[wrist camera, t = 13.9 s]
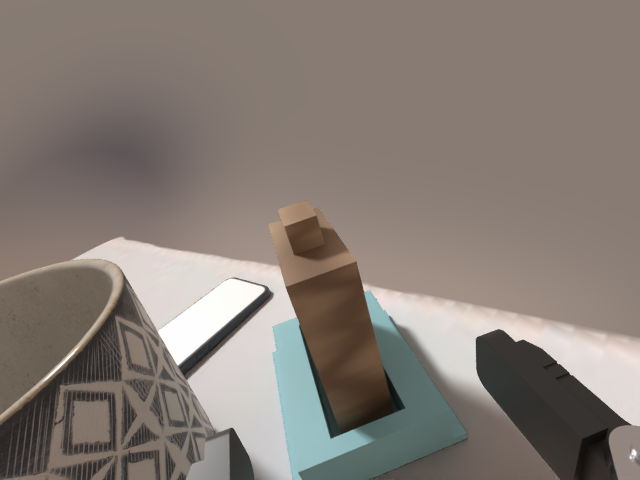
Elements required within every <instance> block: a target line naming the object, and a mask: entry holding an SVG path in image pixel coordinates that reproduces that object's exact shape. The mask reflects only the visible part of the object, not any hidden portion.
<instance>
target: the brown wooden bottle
mask: <svg viewBox="0 0 640 480" xmlns="http://www.w3.org/2000/svg"><path fill="white" fill-rule="evenodd" d="M278 212H279V215H280V218H281V220H280V221H277V222H274V223H271V224H269V228H270V232H271V235H272V239H273V243H274V247H275V250H276V254H277V257H278V261H279V265H280V268H281V272H282V276H283V279H284V283H285V287H286V289H287V292H288V295H289V297H290V300H291V302H292V305H293V308H294V310H295V313H296V316H297V318H298V321H299V324H300V326H301V329H302V332H303V334H304V337H305V339H306V342H307V345H308V347H309V350H310V353H311V355H312V358H313V361H314V363H315V366H316V368H317V371H318V374H319V376H320V379H321V382H322V384H323V387H324V390H325V392H326V395H327V398H328V400H329V403H330V405H331V408H332V411H333V413H334V416H335V419H336V421H337V424H338V427H339V429H340V432H341V434H344V433H346V432H349V431H351V430H354V429H356V428H358V427H361V426H363V425H366V424H368V423H371V422H373V421H376V420H378V419H381V418H383V417H385V416H388V415H390V414H393V413H394V409H393V405H392V401H391V397H390V393H389V389H388V385H387V381H386V377H385V373H384V369H383V365H382V361H381V357H380V354H379V350H378V346H377V342H376V338H375V334H374V330H373V326H372V322H371V318H370V314H369V310H368V306H367V302H366V298H365V294H364V290H363V286H362V282H361V278H360V274H359V271H358V266H357V262H356V260H355V259H354V257H353V256H352V255H351V253H350V252H349V250H348V249H347V248H346V246H345V245H344V243H343V242H342V240H341V239H340V238H339V236H338V235H337V233H336V232H335V230H334V229H333V228H332V226H331V225H330V223H329V222H328V221H327V219H326V218H325V216H324V215H323V213H322V212H321V211H320V209H319V208H315V209H312V208H311V206H310V204H309V203H308V201H307V200H305V201H301V202H299V203H296V204H293V205H290V206H287V207H284V208H281V209H278Z"/></svg>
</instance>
